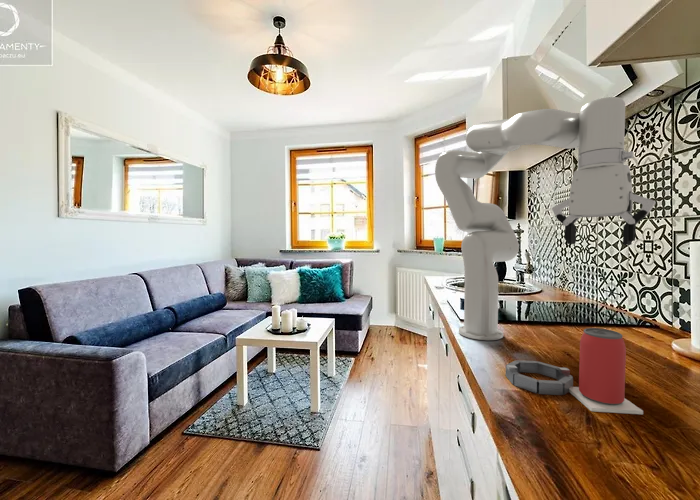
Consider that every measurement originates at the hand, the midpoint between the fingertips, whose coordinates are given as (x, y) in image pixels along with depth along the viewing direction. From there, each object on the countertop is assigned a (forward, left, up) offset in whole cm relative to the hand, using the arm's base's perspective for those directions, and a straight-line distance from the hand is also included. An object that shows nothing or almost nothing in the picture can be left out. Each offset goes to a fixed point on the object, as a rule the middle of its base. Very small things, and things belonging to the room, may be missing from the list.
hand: (597, 244), depth 68 cm
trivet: (+11, -5, -28) cm, 31 cm away
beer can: (+11, -5, -28) cm, 30 cm away
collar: (+4, -13, -28) cm, 31 cm away
